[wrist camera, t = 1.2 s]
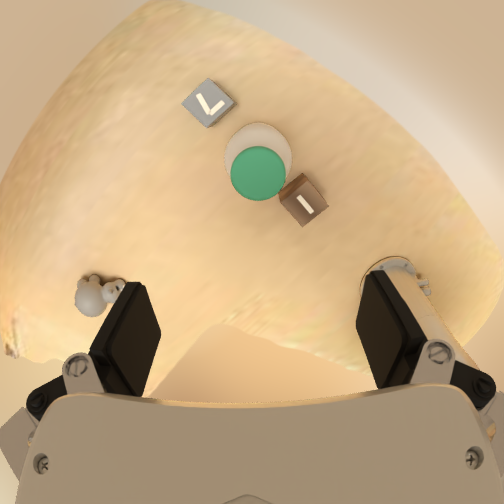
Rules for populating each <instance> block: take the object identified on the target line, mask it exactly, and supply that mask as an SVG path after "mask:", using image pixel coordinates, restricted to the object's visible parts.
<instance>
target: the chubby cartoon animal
mask: <svg viewBox="0 0 504 504" xmlns="http://www.w3.org/2000/svg"><path fill="white" fill-rule="evenodd" d="M125 285H126V284H125V282H124V281H123V280H121V279H117V280H115V281H114V282H108V283H106V284H105V285H104V286H101V285H100V278H99V277H98V276H97V275H92V276H90V278H89V282H87V281H86V280H85V279H80V280H79V281H78V283H77V288H78V289H77V291H76V294H75V306H76V307H77V308H78V310H79V311H80V312H81V313H82V314H84V315H85V316H88V317H96V316H99V315H101V314H102V313H103V312H104V311H105V309H106V307H107V303H108V302H109V303H115V301H116V300H117V298H118V296H119V295H120V293H121V291H122V290H123V288H124V286H125Z"/></svg>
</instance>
